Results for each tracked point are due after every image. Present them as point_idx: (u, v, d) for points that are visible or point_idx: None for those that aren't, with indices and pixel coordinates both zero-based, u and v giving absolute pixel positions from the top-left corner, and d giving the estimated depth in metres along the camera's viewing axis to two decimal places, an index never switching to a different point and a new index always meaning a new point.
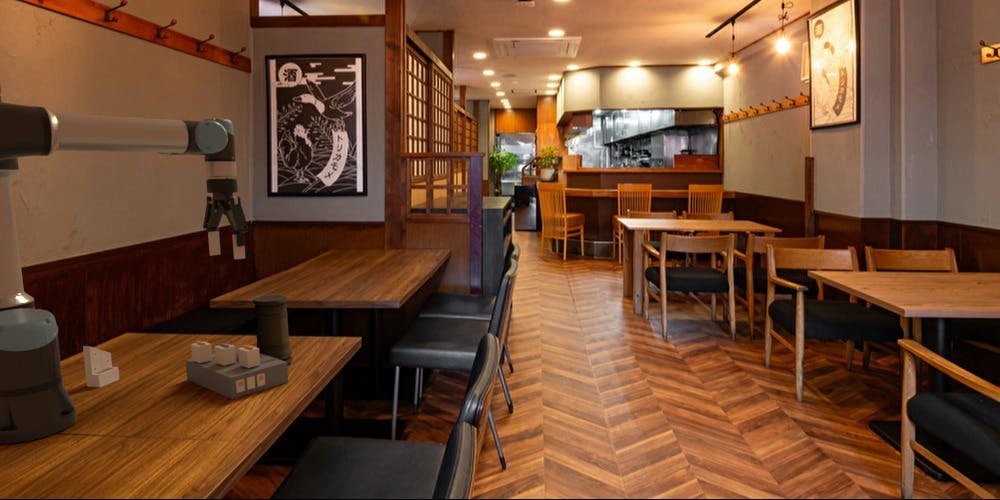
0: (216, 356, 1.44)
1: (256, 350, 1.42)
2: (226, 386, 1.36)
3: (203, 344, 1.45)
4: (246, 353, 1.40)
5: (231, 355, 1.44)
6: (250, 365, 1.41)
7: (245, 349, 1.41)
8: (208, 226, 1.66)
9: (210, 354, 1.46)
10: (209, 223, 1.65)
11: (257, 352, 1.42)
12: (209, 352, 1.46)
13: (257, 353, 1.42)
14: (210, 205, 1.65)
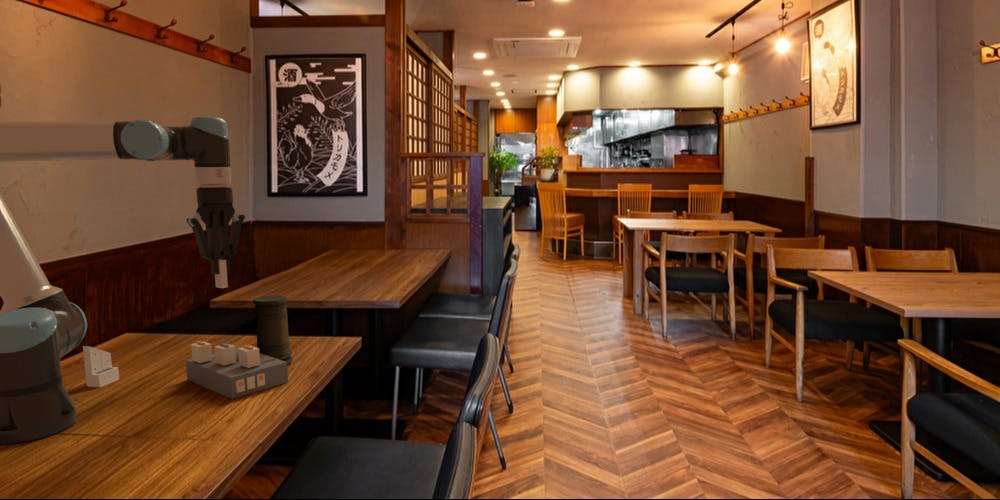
0: (216, 356, 1.44)
1: (256, 350, 1.42)
2: (226, 386, 1.36)
3: (203, 344, 1.45)
4: (246, 353, 1.40)
5: (231, 355, 1.44)
6: (250, 365, 1.41)
7: (245, 349, 1.41)
8: None
9: (210, 354, 1.46)
10: None
11: (257, 352, 1.42)
12: (209, 352, 1.46)
13: (257, 353, 1.42)
14: (232, 223, 1.43)
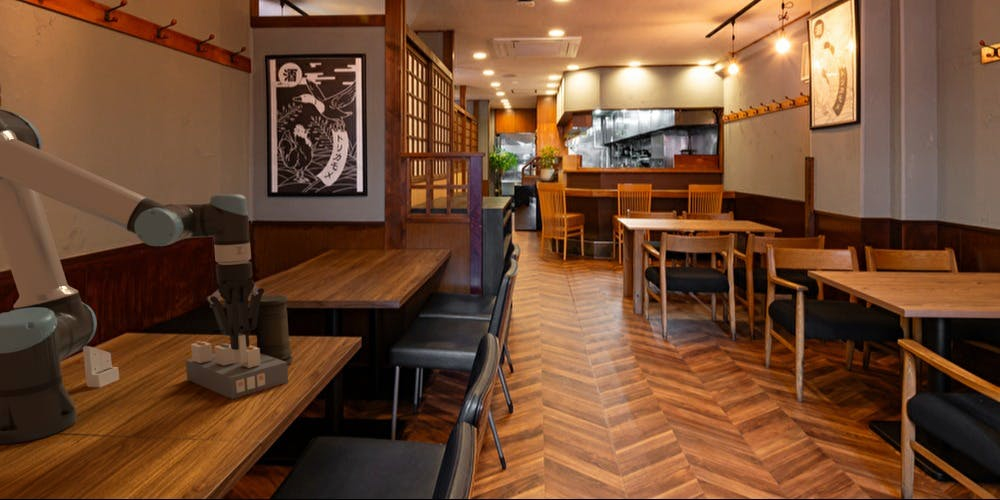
0: (216, 356, 1.44)
1: (256, 350, 1.42)
2: (226, 386, 1.36)
3: (203, 344, 1.45)
4: (247, 353, 1.40)
5: (231, 355, 1.44)
6: (250, 365, 1.41)
7: None
8: None
9: (210, 354, 1.46)
10: None
11: (257, 352, 1.42)
12: (209, 352, 1.46)
13: (257, 353, 1.42)
14: (252, 296, 1.43)
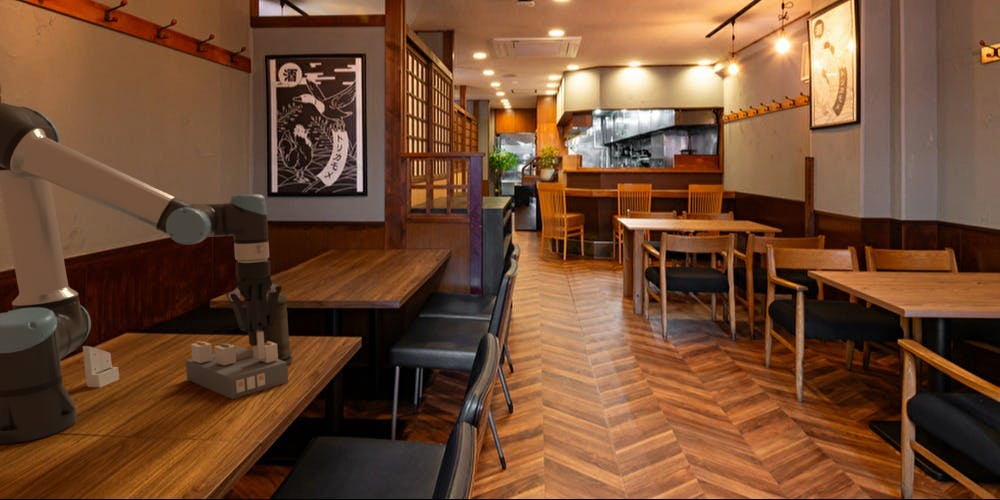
0: (216, 356, 1.44)
1: (274, 346, 1.45)
2: (226, 386, 1.36)
3: (203, 344, 1.45)
4: (265, 348, 1.44)
5: (231, 355, 1.44)
6: (268, 360, 1.44)
7: None
8: None
9: (210, 354, 1.46)
10: None
11: (275, 347, 1.46)
12: (209, 352, 1.46)
13: (275, 348, 1.46)
14: (269, 294, 1.46)
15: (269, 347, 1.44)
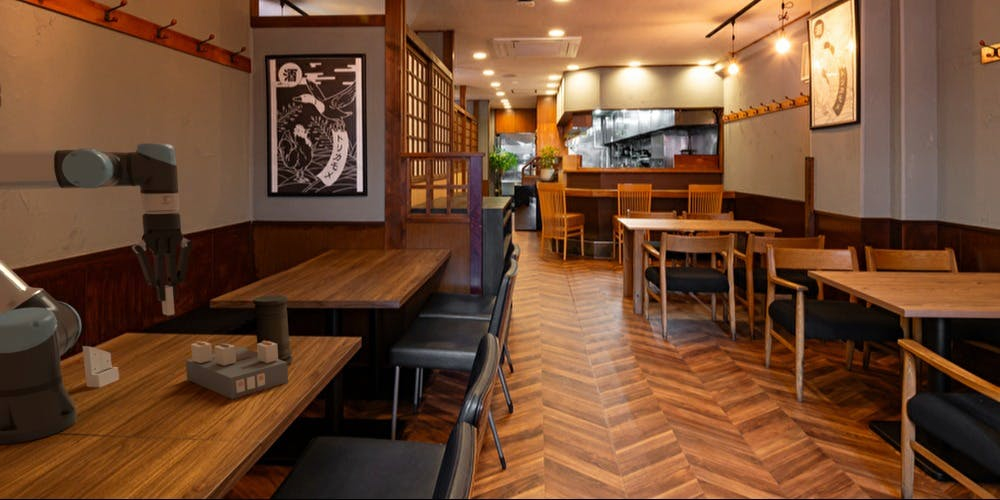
0: (216, 356, 1.44)
1: (274, 346, 1.45)
2: (226, 386, 1.36)
3: (203, 344, 1.45)
4: (265, 348, 1.44)
5: (231, 355, 1.44)
6: (269, 360, 1.44)
7: (264, 344, 1.45)
8: None
9: (210, 354, 1.46)
10: None
11: (275, 347, 1.46)
12: (209, 352, 1.46)
13: (275, 348, 1.46)
14: (181, 249, 1.42)
15: (269, 347, 1.44)
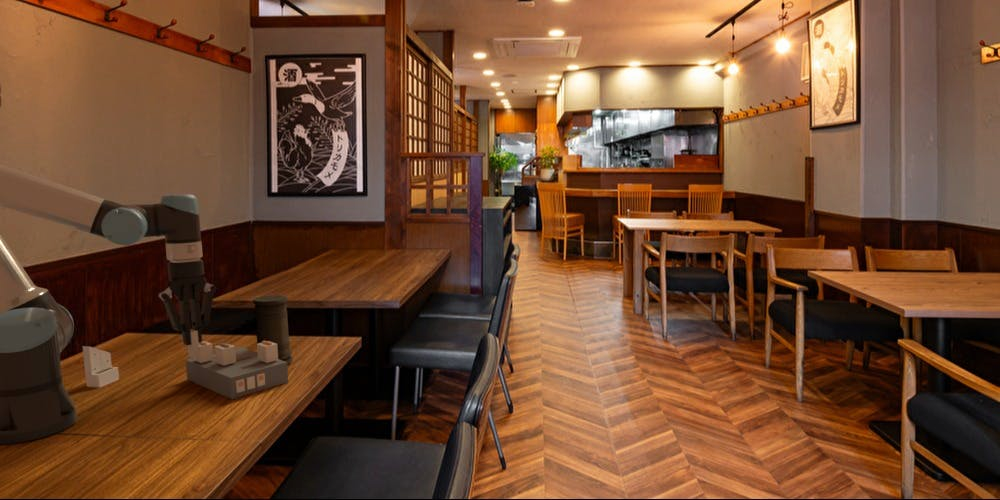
0: (216, 356, 1.44)
1: (274, 346, 1.45)
2: (226, 386, 1.36)
3: (204, 344, 1.45)
4: (265, 348, 1.44)
5: (231, 355, 1.44)
6: (269, 360, 1.44)
7: (264, 344, 1.45)
8: None
9: (211, 354, 1.46)
10: None
11: (275, 347, 1.46)
12: (210, 351, 1.46)
13: (275, 348, 1.46)
14: (205, 293, 1.47)
15: (269, 347, 1.44)
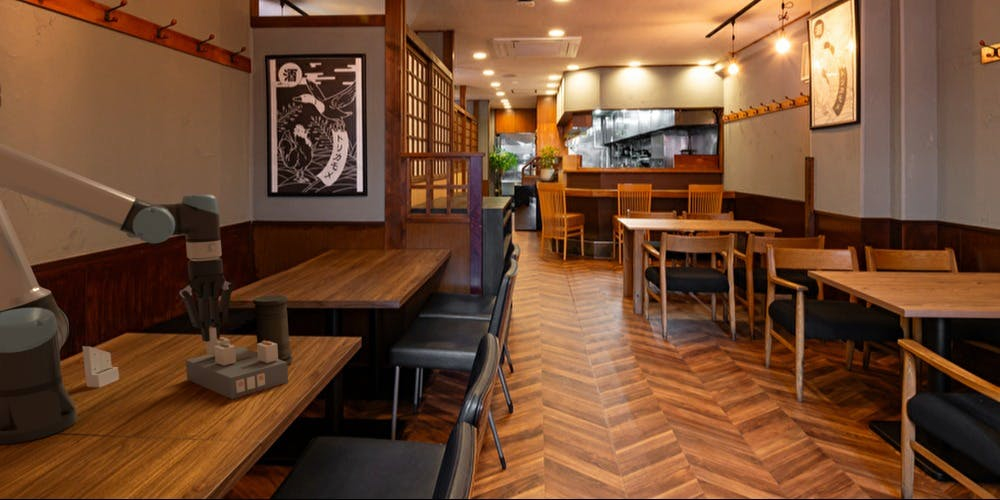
0: (216, 356, 1.44)
1: (274, 346, 1.45)
2: (226, 386, 1.36)
3: (222, 340, 1.49)
4: (265, 348, 1.44)
5: (231, 355, 1.44)
6: (269, 360, 1.44)
7: (264, 344, 1.45)
8: None
9: None
10: None
11: (275, 347, 1.46)
12: None
13: (275, 348, 1.46)
14: (223, 291, 1.50)
15: (269, 347, 1.44)
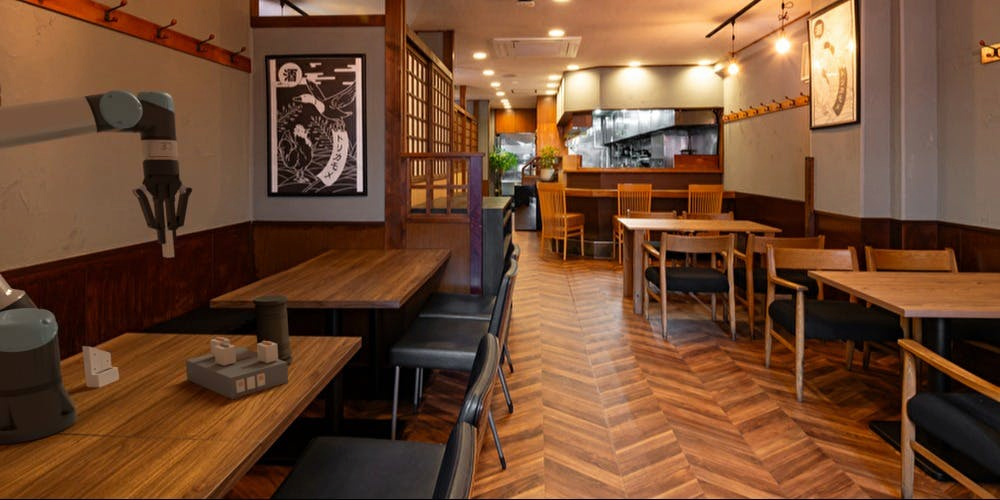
0: (216, 356, 1.44)
1: (274, 346, 1.45)
2: (226, 386, 1.36)
3: (222, 340, 1.49)
4: (265, 348, 1.44)
5: (231, 355, 1.44)
6: (269, 360, 1.44)
7: (264, 344, 1.45)
8: None
9: None
10: None
11: (275, 347, 1.46)
12: None
13: (275, 348, 1.46)
14: (180, 195, 1.49)
15: (269, 347, 1.44)
